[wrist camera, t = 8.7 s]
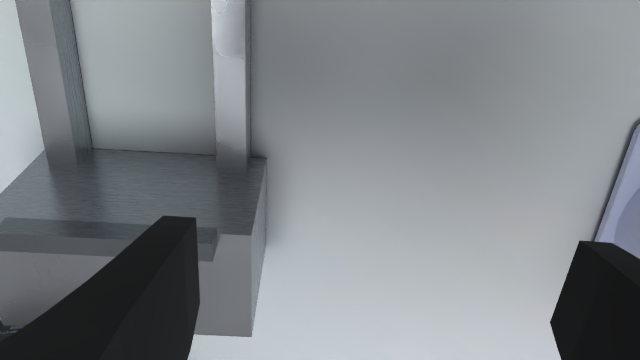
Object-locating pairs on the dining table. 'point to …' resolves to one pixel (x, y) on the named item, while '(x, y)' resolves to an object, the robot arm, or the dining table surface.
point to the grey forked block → (132, 184)
